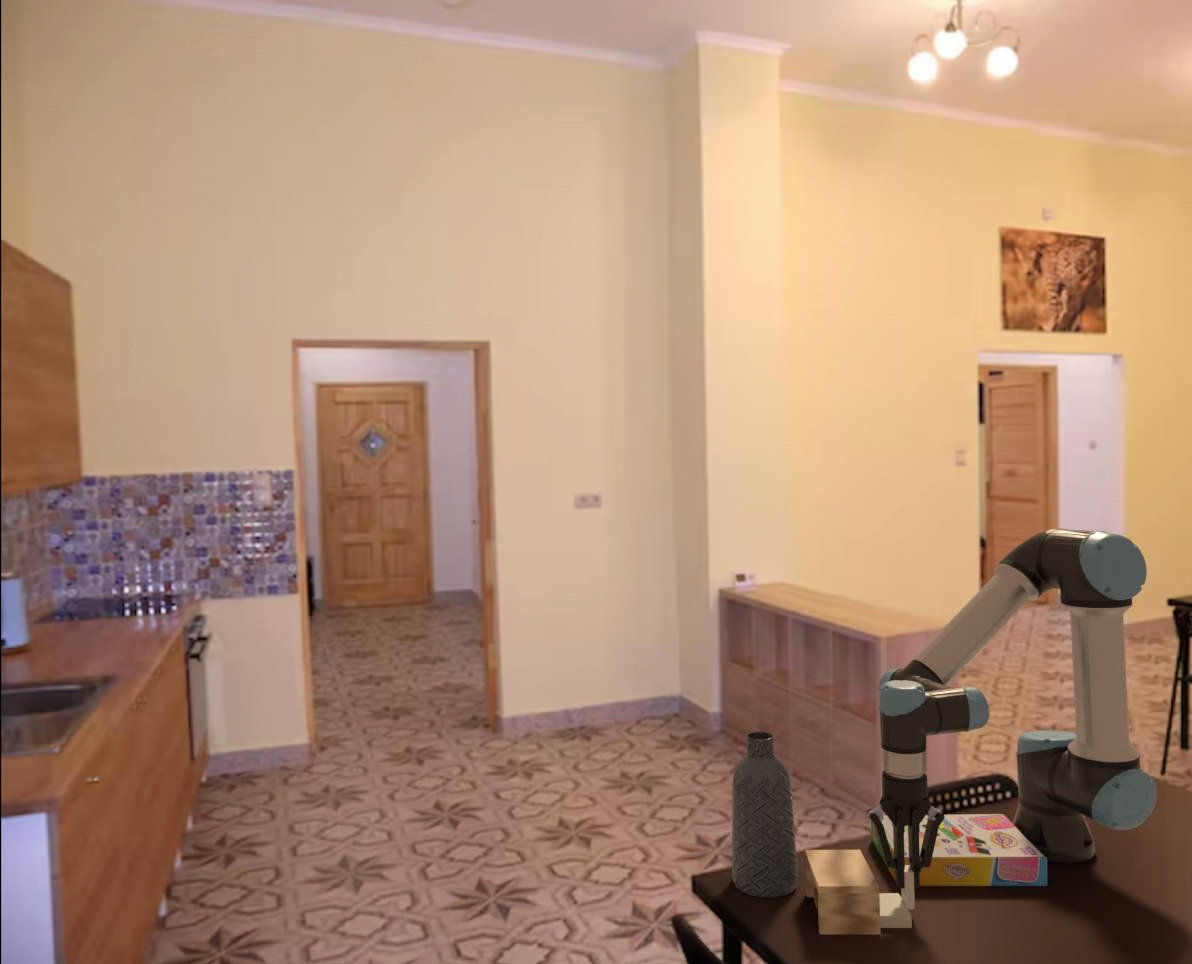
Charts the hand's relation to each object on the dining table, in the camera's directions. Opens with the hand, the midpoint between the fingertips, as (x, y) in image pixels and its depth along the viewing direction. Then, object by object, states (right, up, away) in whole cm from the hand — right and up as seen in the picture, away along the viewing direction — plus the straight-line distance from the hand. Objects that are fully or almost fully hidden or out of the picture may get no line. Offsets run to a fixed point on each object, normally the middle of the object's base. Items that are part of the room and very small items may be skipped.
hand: (908, 905), depth 155 cm
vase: (-23, -2, +13) cm, 26 cm away
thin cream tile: (-7, -2, 0) cm, 7 cm away
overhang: (-11, -2, +1) cm, 12 cm away
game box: (+2, +2, +20) cm, 20 cm away
